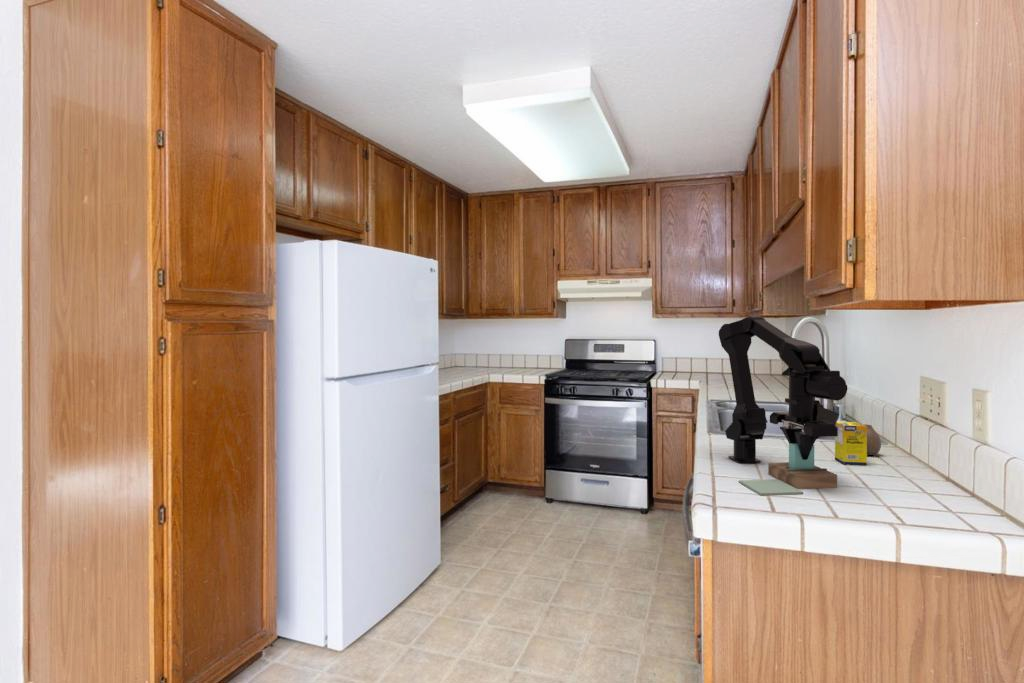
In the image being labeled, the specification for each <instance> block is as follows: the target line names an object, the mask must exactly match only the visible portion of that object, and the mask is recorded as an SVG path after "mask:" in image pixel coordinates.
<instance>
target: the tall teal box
mask: <svg viewBox="0 0 1024 683" xmlns="http://www.w3.org/2000/svg"><path fill="white" fill-rule="evenodd" d="M788 462H789V469H814V465H815V444H813V447H812V449H811V452H810V454H809V457H808V459H807V460H803V459H802V457H801V454H800V450H799V446H798V443H792V444H789V443H788Z"/></svg>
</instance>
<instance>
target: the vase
mask: <svg viewBox="0 0 1024 683" xmlns="http://www.w3.org/2000/svg"><path fill="white" fill-rule="evenodd" d="M862 424H863V423H862ZM863 425H865V426H867V455H875V456H876V455H878V453H879V452H880V450H881V449H882V440H881V438H880V435H879V434H878V433H877V431H876V430H875V429H874V427H873V425H871V424H865V423H864V424H863Z"/></svg>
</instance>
